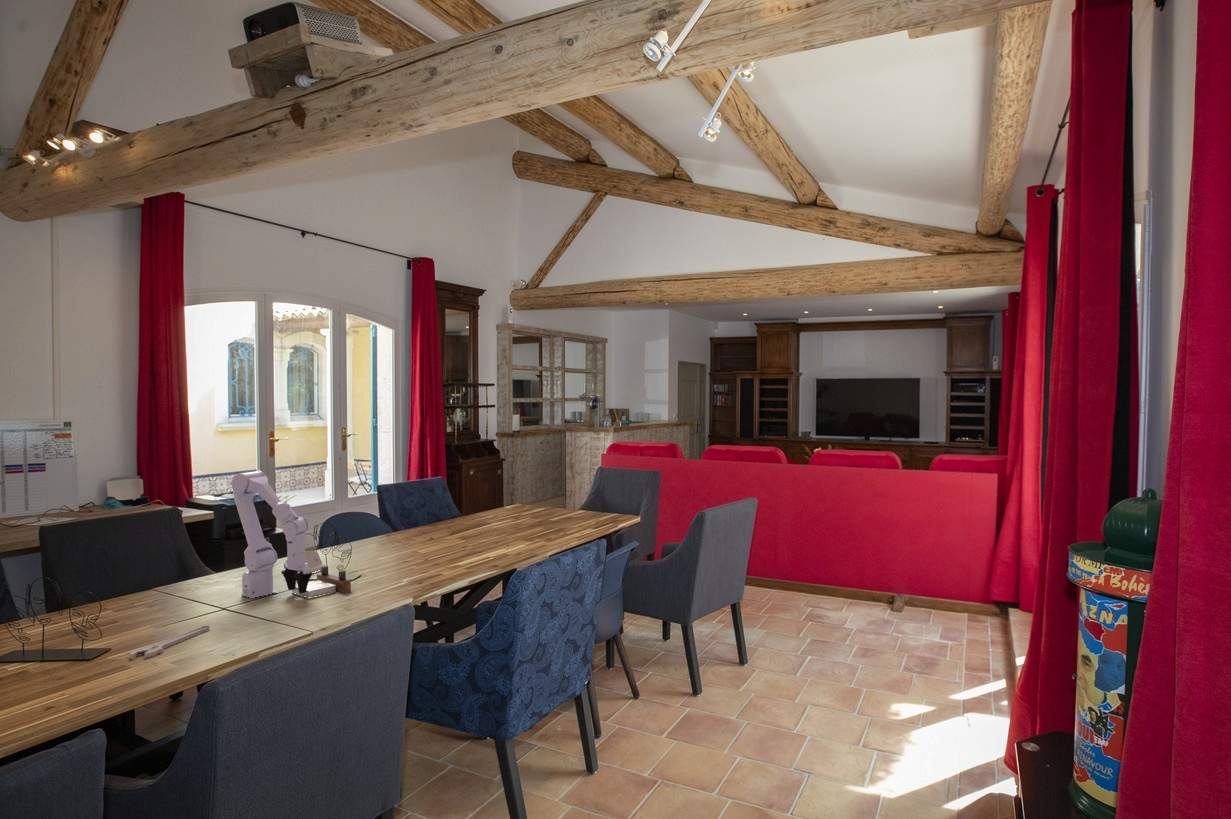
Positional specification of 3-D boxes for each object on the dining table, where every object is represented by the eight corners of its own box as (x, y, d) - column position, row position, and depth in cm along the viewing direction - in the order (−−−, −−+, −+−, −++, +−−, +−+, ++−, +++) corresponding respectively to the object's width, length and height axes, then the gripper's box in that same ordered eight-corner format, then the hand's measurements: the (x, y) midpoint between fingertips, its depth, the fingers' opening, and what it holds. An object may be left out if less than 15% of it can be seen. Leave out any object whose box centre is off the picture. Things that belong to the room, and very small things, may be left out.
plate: (309, 600, 245) (309, 591, 245) (292, 594, 253) (291, 586, 253) (336, 593, 253) (335, 585, 253) (318, 588, 261) (318, 580, 261)
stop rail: (343, 592, 252) (342, 573, 252) (317, 585, 264) (316, 566, 263) (350, 590, 255) (350, 571, 255) (324, 583, 266) (324, 564, 266)
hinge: (298, 579, 273) (290, 554, 273) (288, 582, 274) (280, 558, 275) (327, 569, 289) (319, 545, 289) (318, 572, 290) (310, 549, 291)
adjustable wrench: (204, 630, 215) (204, 624, 215) (221, 632, 213) (221, 626, 213) (126, 659, 191) (126, 652, 191) (144, 661, 189) (144, 654, 189)
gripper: (317, 553, 247) (318, 591, 247) (296, 548, 256) (297, 585, 256) (298, 557, 241) (299, 596, 241) (277, 551, 250) (278, 589, 250)
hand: (297, 591), depth 248 cm, fingers open, 7 cm apart
